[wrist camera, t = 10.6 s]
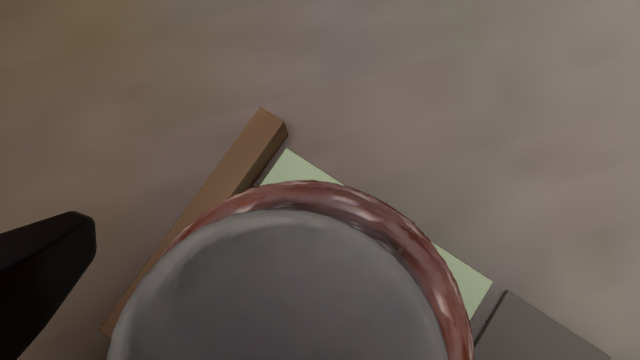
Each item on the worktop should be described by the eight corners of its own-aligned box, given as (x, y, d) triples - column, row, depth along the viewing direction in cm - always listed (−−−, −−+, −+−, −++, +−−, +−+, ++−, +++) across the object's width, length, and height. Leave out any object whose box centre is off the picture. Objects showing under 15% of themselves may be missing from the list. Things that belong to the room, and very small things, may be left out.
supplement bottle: (443, 292, 16) (662, 320, 5) (345, 449, 15) (356, 887, 4) (299, 195, 17) (222, 42, 6) (199, 338, 16) (-104, 465, 5)
